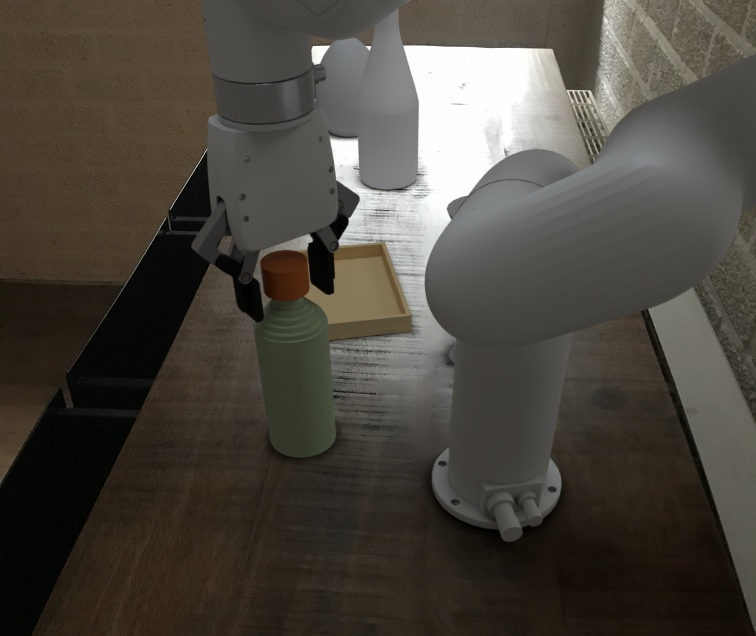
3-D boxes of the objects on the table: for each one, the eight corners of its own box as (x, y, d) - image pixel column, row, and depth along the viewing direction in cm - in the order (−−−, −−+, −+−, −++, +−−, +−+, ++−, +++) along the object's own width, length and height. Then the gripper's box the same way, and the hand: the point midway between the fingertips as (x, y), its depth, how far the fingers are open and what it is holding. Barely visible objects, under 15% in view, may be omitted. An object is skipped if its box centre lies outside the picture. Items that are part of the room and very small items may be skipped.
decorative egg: (391, 119, 149) (390, 28, 138) (374, 144, 140) (372, 49, 130) (328, 114, 151) (323, 25, 140) (308, 138, 142) (301, 45, 132)
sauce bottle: (340, 453, 82) (328, 283, 69) (272, 461, 82) (246, 291, 68) (331, 411, 87) (319, 245, 73) (268, 419, 87) (243, 252, 73)
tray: (411, 331, 98) (411, 315, 96) (296, 343, 97) (294, 327, 95) (385, 256, 112) (384, 241, 110) (284, 266, 110) (282, 251, 108)
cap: (255, 295, 71) (251, 267, 69) (278, 274, 74) (275, 246, 72) (295, 305, 70) (292, 276, 68) (317, 283, 73) (315, 254, 71)
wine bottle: (427, 185, 128) (432, -37, 107) (371, 196, 125) (366, -29, 104) (403, 163, 134) (404, -50, 113) (351, 173, 132) (341, -43, 110)
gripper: (332, 59, 66) (343, 257, 79) (138, 106, 59) (184, 315, 72) (386, 82, 62) (388, 288, 74) (183, 136, 55) (224, 353, 67)
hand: (288, 300), depth 73 cm, fingers open, 6 cm apart
